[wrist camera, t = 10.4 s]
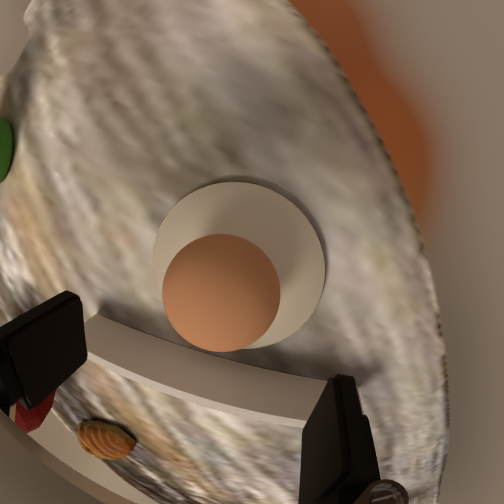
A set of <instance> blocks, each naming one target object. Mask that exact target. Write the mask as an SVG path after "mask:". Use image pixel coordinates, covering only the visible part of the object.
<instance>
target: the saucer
mask: <svg viewBox="0 0 504 504" xmlns="http://www.w3.org/2000/svg"><path fill="white" fill-rule="evenodd" d="M213 234H229V235H234V236H238V237H241V238H244V239H246V240H248V241H250V242H252V243H253V244H255V245H256V246H258V247H259V248H260V249H261V250H262V251H263V252H264V253H265V254H266V255H267V256H268V258H269V259H270V261H271V262H272V264H273V266H274V268H275V270H276V272H277V275H278V278H279V283H280V305H279V308H278V312H277V315H276V317H275V319H274V321H273V323H272V324H271V326H270V328H269V329H268V330H267V331H266V333H265V334H264V335H263V336H262V337H260V338H259V339H258V340H257V341H255V342H254V343H252V344H251V345H249V346H246V347H244V348H242V349H252V348H260V347H265V346H268V345H271V344H274V343H277V342H279V341H281V340H283V339H285V338H287V337H288V336H290V335H291V334H293V333H294V332H296V331H297V330H298V329H299V328H300V327H301V326H302V325H303V324H304V323H305V322H306V321H307V320H308V319H309V317H310V316H311V314H312V313H313V311H314V310H315V308H316V306H317V304H318V302H319V299H320V296H321V293H322V290H323V285H324V279H325V263H324V256H323V251H322V248H321V244H320V241H319V239H318V237H317V235H316V232H315V230H314V228H313V227H312V225H311V223H310V222H309V220H308V219H307V218H306V216H305V215H304V214H303V213H302V211H301V210H300V209H299V208H298V207H297V206H295V205H294V204H293V203H292V202H291V201H290V200H288V199H287V198H285V197H284V196H282V195H281V194H279V193H277V192H275V191H273V190H271V189H269V188H266V187H263V186H260V185H257V184H251V183H246V182H225V183H217V184H213V185H209V186H206V187H203V188H201V189H198V190H196V191H194V192H192V193H191V194H189V195H187V196H186V197H185V198H183V199H182V200H181V201H179V202H178V203H177V204H176V205H175V206H174V207H173V208H172V209H171V210H170V212H169V213H168V215H167V216H166V217H165V219H164V220H163V222H162V224H161V226H160V228H159V231H158V233H157V236H156V239H155V244H154V248H153V272H154V277H155V282H156V285H157V288H158V291H159V293H160V295H161V298H162V287H163V280H164V276H165V273H166V271H167V268H168V266H169V264H170V262H171V261H172V259H173V258H174V257H175V255H176V254H177V253H178V252H179V251H180V250H181V249H182V248H183V247H184V246H186V245H187V244H189V243H190V242H192V241H194V240H196V239H198V238H201V237H204V236H207V235H213ZM162 300H163V298H162Z"/></svg>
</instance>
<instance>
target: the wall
mask: <svg viewBox="0 0 504 504" xmlns="http://www.w3.org/2000/svg"><path fill="white" fill-rule="evenodd" d="M84 329H85V338H86V346H87V353H88V357H87V359H89V360H91V361H93V362H95V363H97V364H99V365H101V366H103V367H105V368H107V369H109V370H111V371H113V372H115V373H117V374H120V375H122V376H124V377H126V378H129V379H131V380H133V381H136V382H138V383H140V384H143V385H145V386H148V387H150V388H153V389H155V390H158V391H161V392H163V393H166V394H169V395H171V396H174V397H177V398H180V399H183V400H186V401H189V402H192V403H195V404H198V405H202V406H205V407H208V408H212V409H215V410H219V411H223V412H226V413H230V414H234V415H238V416H242V417H247V418H251V419H256V420H260V421H265V422H270V423H276V424H281V425H287V426H293V427H300V428H304V426H305V424H306V422H307V420H308V419H309V417H310V415H311V413H312V411H313V409H314V407H315V406H316V404H317V402H318V400H319V398H320V396H321V394H322V392H323V390H324V388H325V386H326V384H327V382H328V381H325V380H319V379H313V378H308V377H302V376H297V375H292V374H287V373H282V372H277V371H272V370H268V369H263V368H259V367H255V366H251V365H247V364H243V363H239V362H235V361H231V360H227V359H224V358H220V357H217V356H213V355H210V354H206V353H203V352H199V351H196V350H193V349H190V348H187V347H183V346H180V345H177V344H174V343H171V342H168V341H166V340H163V339H160V338H157V337H154V336H151V335H149V334H146V333H143V332H141V331H138V330H135V329H133V328H130V327H128V326H125V325H123V324H120V323H118V322H115V321H113V320H110V319H108V318H106V317H103V316H101V315H99V314H95V315H94V316H93V317H92V318H90V319H89V320H88V321H86V322H85V323H84ZM356 387H357V392H358V396H359V400H360V405H361V409H362V414H363V415H364V412H363V408H362V403H361V399H360V395H359V391H358V386H357V385H356Z"/></svg>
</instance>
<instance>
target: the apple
mask: <svg viewBox="0 0 504 504" xmlns="http://www.w3.org/2000/svg"><path fill="white" fill-rule="evenodd" d="M55 392H56V389H55V390H54V391H53V392H52V393H51V394H50V395H49V396H48V397H47V398H46V399H45V400H44V401H43V402H42V403H41V404H40V405H38V406H37V407H33V408H32V409H31V410H30V411H28V410H27V409H26V408H25V407H24V406H22V405H21V404H20V402H19V400H18V401H16V411H15V424H16V425H17V426H19V427H20V428H21V429H22V430H23V431H24V432H25V433H28V432H30V431H32V430H35V429H37V428H39V427H40V425H41V424H42V422H43V421H44V419H45V417H46V415H47V414H48V412H49V411H50V409H51V408H52V404H53V400H54V396H55Z"/></svg>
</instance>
